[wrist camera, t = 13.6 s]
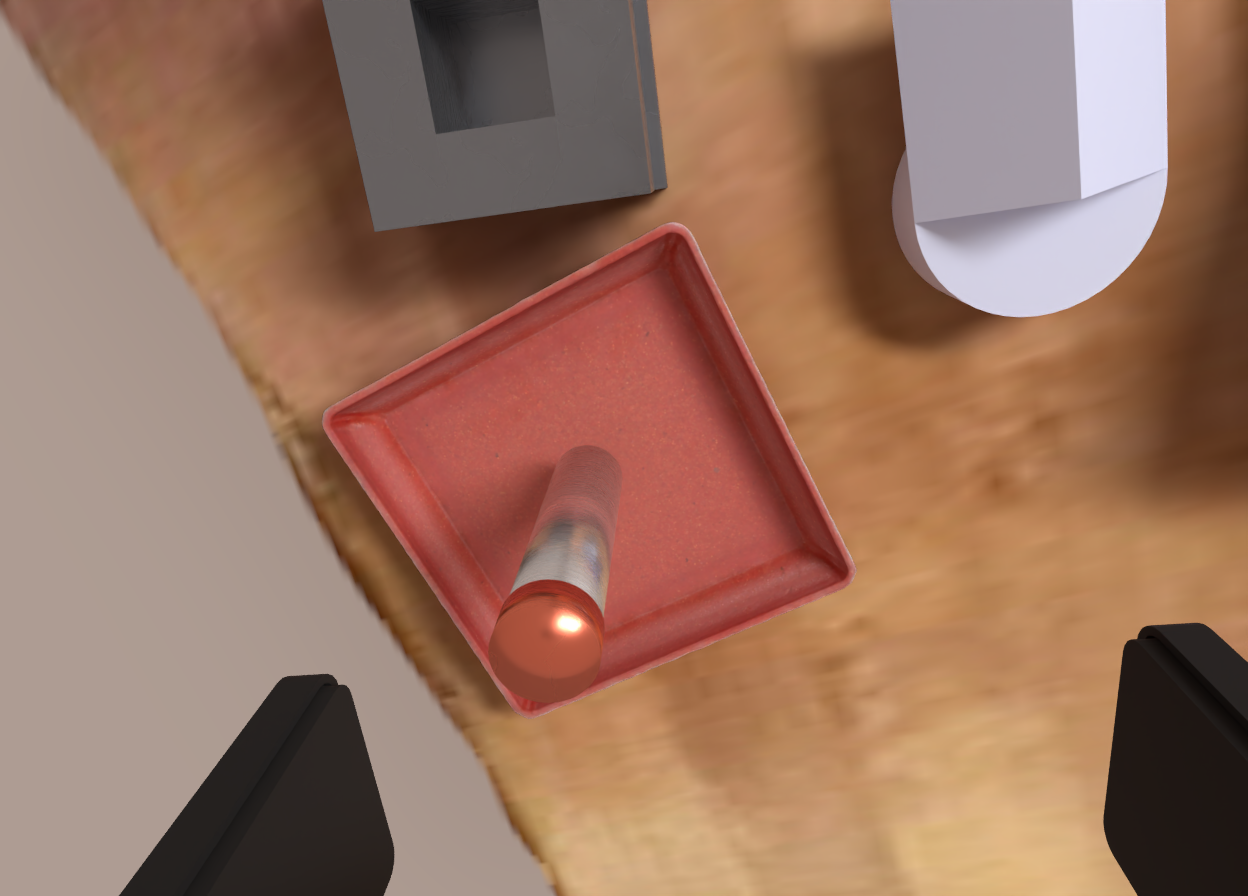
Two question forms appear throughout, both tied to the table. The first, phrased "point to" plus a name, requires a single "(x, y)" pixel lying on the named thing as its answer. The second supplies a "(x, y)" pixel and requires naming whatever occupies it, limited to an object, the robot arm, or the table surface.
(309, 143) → the table surface
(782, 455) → the plant saucer
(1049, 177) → the wedge on round base
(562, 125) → the block
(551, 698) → the pin
